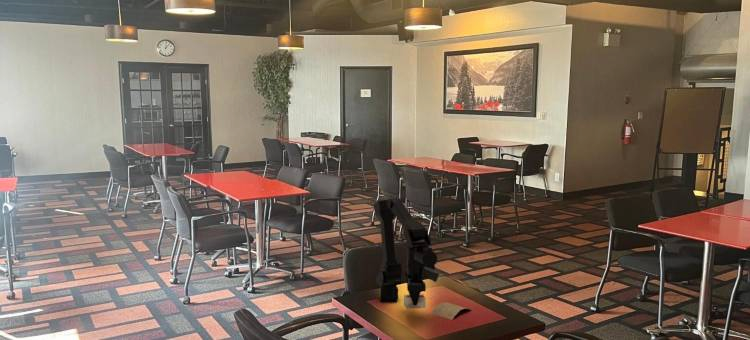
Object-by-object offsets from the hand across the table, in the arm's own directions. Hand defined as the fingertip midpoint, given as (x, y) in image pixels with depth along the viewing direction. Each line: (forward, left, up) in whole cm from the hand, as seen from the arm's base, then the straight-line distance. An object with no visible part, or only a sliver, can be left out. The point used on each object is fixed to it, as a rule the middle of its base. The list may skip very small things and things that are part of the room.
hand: (414, 302), depth 209 cm
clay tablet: (+14, +6, -7) cm, 17 cm away
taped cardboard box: (0, 0, -1) cm, 1 cm away
